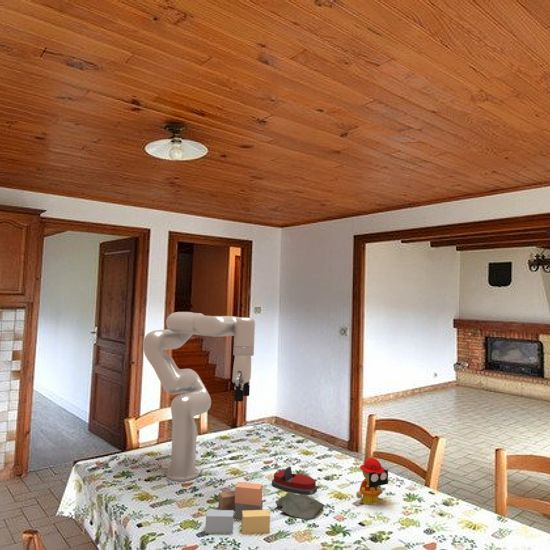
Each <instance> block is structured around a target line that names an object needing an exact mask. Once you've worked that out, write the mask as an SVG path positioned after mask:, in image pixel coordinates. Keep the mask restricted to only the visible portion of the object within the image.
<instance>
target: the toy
mask: <svg viewBox="0 0 550 550" xmlns="http://www.w3.org/2000/svg"><path fill="white" fill-rule="evenodd" d="M359 469H360V470H361V471H362V475H363V477H364V479H363V480H362V481H361V484H360V487H359V491H356V493H355V495H356V498H357V499H362V503H363V504H365V505H372V504H378V503H379V496H380V495H382V494H383V489H382V488H380V486H384V485H388V484H389V469H385V467H384V466H382V464H381V462H380V461H379V460H378V459H377V458H374V457H368V458H367V459H365V461H364V462H363V464H361V465H360V466H359Z"/></svg>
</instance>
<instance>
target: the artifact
mask: <svg viewBox="0 0 550 550" xmlns="http://www.w3.org/2000/svg"><path fill="white" fill-rule="evenodd" d="M274 504H275V505H276V506H277V507H282V508H280V510H279V511H281V512H284V513H285V514H286V515H289V516H290V517H294V518H299V519H303V520H313V518H314V517H316V516H317V515H318V514H320V513H322V510H323V508H324V507H325V504H324V503H322V502H320V501H319V500H317V499H314V498H313V497H311V496H310V495H303V494H296V493H292V492H286V493H285V495H284V496H280V497H279V498H278V499H277V500H276V501H275V503H274Z"/></svg>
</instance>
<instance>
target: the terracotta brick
mask: <svg viewBox="0 0 550 550" xmlns="http://www.w3.org/2000/svg"><path fill="white" fill-rule="evenodd" d="M234 487H235V488H234V490H235V503H239V504H248V505H257V506H260V504H261V501H262V500H263V484H262V483H254V482H253V483H251V482H242V481H237V483H236V484H235V486H234Z"/></svg>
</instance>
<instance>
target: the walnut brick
mask: <svg viewBox="0 0 550 550" xmlns="http://www.w3.org/2000/svg"><path fill="white" fill-rule="evenodd" d="M218 510H234V512H235V489H234V490H229V491H221V492H219V493H218Z"/></svg>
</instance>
